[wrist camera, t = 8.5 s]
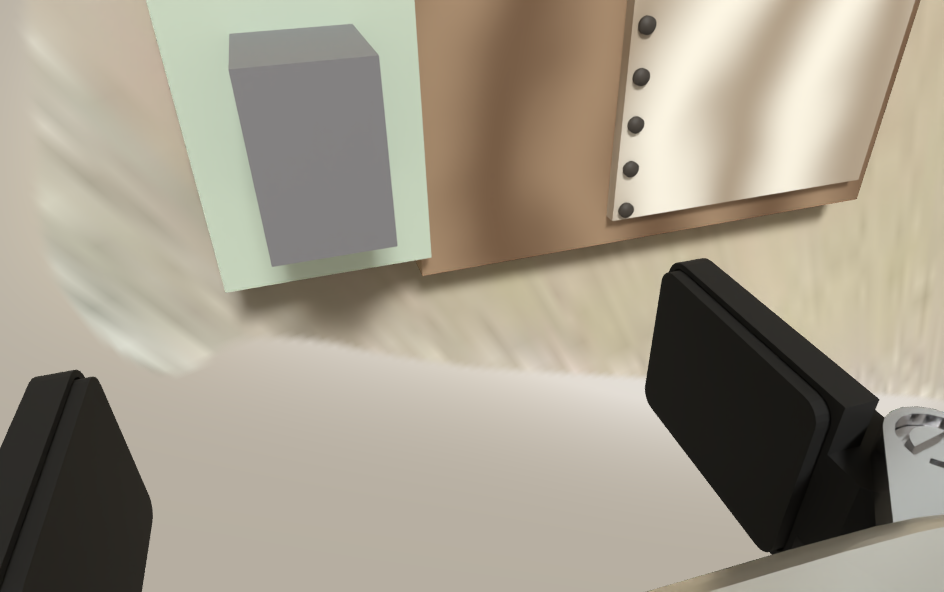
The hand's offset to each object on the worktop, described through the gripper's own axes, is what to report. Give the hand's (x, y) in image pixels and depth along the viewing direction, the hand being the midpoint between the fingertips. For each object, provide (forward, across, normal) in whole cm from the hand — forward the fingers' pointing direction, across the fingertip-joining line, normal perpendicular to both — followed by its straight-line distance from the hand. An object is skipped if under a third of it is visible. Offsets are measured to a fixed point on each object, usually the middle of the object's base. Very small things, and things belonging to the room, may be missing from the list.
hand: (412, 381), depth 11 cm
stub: (+16, +1, 0) cm, 16 cm away
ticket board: (+19, -15, 0) cm, 24 cm away
